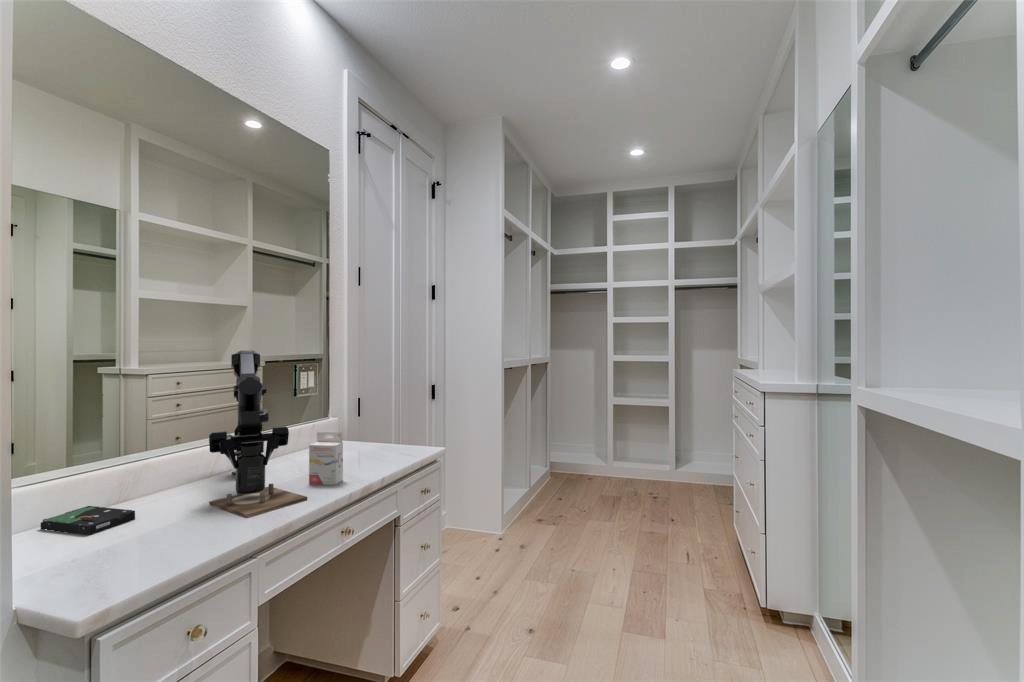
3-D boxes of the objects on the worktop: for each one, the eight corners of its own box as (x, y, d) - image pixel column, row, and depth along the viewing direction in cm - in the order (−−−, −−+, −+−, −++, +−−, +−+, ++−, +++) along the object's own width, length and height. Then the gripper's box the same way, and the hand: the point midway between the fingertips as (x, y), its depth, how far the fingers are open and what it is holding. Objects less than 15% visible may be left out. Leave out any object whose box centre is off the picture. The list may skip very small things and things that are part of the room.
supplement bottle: (268, 486, 132) (269, 442, 132) (259, 494, 125) (261, 447, 125) (241, 487, 131) (242, 442, 131) (230, 494, 124) (232, 447, 124)
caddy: (209, 504, 126) (209, 491, 126) (269, 489, 139) (268, 477, 139) (246, 517, 116) (246, 503, 116) (307, 499, 129) (307, 487, 129)
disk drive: (136, 521, 116) (88, 516, 119) (136, 510, 116) (88, 504, 119) (89, 538, 106) (38, 532, 109) (89, 525, 106) (38, 519, 109)
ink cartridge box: (308, 484, 144) (307, 434, 144) (316, 479, 149) (316, 431, 149) (336, 485, 143) (335, 434, 143) (343, 480, 148) (343, 431, 148)
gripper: (209, 401, 127) (207, 452, 117) (288, 397, 136) (292, 444, 127) (210, 427, 134) (209, 477, 124) (285, 421, 143) (289, 467, 134)
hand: (250, 466), depth 127 cm, fingers closed on supplement bottle, 7 cm apart
